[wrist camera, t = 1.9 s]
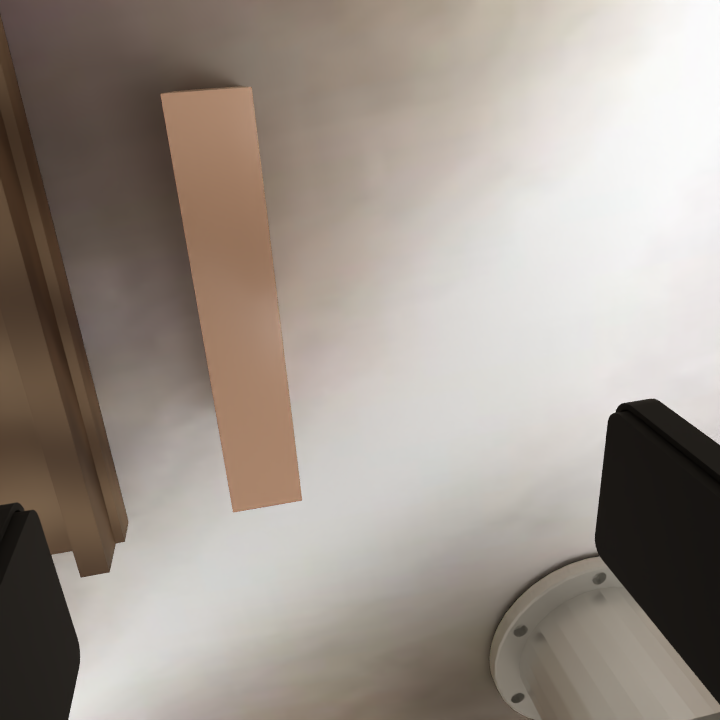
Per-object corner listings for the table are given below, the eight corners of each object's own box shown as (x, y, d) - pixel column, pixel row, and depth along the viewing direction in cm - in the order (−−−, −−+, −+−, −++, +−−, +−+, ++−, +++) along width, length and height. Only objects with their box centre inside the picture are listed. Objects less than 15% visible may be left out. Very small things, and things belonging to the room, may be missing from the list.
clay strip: (281, 404, 31) (302, 500, 24) (228, 412, 31) (233, 512, 24) (241, 86, 26) (251, 87, 19) (176, 90, 25) (160, 93, 18)
